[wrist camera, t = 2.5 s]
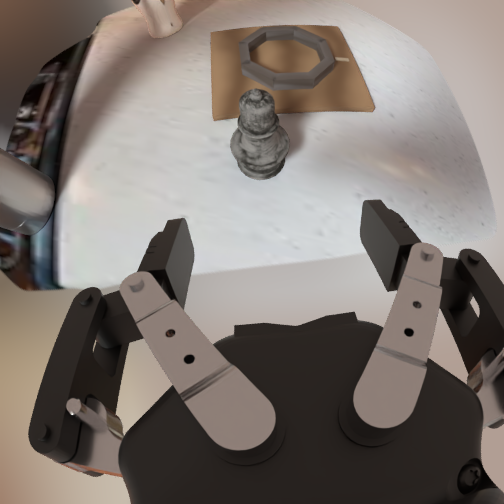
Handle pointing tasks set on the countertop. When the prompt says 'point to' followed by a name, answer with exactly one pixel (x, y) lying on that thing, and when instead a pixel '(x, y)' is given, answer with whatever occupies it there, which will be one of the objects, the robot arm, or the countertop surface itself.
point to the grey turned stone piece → (259, 136)
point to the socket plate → (286, 70)
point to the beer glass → (160, 17)
